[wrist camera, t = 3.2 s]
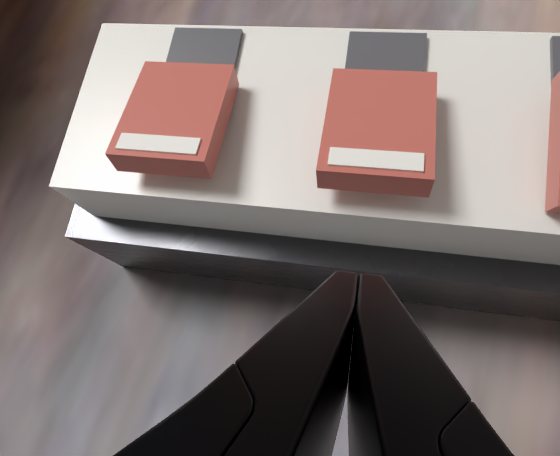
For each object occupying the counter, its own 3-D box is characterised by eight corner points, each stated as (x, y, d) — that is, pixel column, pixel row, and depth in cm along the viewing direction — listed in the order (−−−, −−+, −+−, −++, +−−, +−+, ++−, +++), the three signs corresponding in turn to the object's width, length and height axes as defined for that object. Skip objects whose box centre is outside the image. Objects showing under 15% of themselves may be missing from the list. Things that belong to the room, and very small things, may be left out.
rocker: (239, 84, 16) (233, 62, 15) (211, 179, 14) (203, 160, 13) (154, 80, 17) (144, 59, 16) (117, 171, 15) (103, 152, 14)
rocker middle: (432, 93, 15) (437, 70, 14) (429, 197, 13) (435, 178, 12) (333, 89, 15) (333, 66, 15) (317, 188, 14) (315, 168, 13)
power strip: (687, 94, 17) (760, 32, 14) (711, 281, 15) (803, 254, 12) (135, 71, 21) (99, 19, 18) (93, 215, 19) (44, 184, 16)
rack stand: (636, 140, 22) (715, 73, 17) (653, 332, 19) (752, 316, 14) (162, 112, 26) (121, 52, 21) (122, 266, 23) (64, 236, 19)
